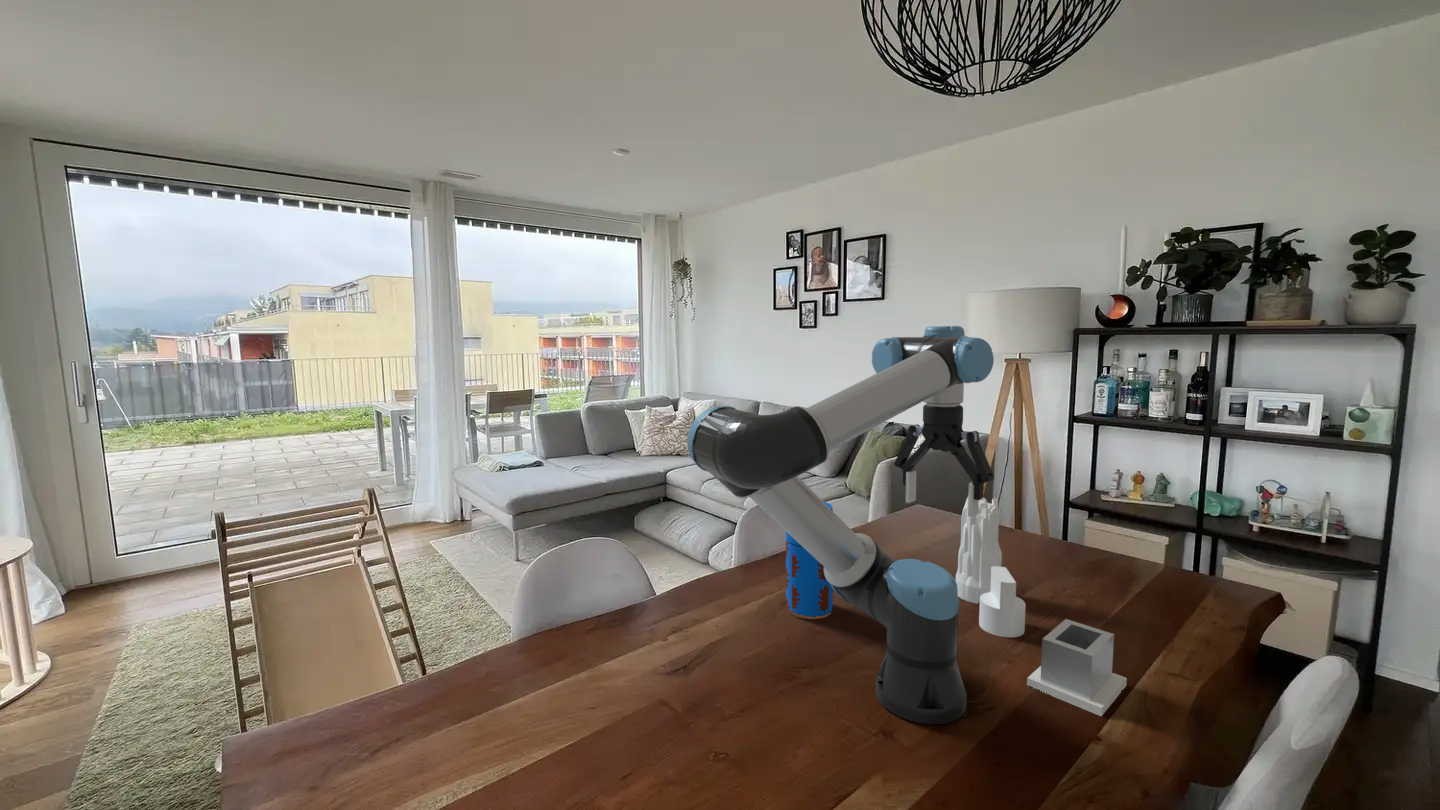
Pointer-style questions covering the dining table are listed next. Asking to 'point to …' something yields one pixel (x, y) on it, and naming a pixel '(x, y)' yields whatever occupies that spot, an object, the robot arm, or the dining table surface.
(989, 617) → the cylinder with rectangular tab
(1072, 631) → the steel link
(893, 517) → the dining table surface
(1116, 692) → the keeper board
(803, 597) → the thermos
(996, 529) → the decorative vase
